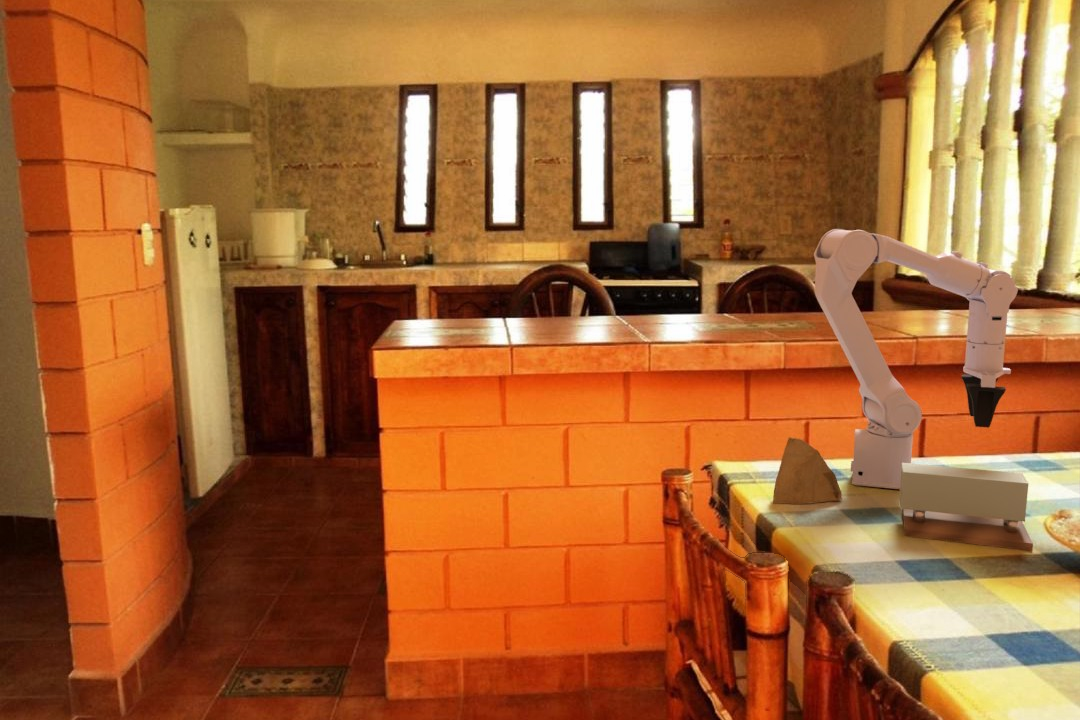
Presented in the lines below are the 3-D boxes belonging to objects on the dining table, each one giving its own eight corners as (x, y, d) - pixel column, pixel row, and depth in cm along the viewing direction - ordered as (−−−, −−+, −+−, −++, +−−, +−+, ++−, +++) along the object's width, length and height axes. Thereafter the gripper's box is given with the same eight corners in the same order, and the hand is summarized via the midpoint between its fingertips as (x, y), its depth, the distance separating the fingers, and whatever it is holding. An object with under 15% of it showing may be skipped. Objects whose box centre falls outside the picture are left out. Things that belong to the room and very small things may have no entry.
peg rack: (905, 535, 124) (906, 515, 123) (902, 511, 134) (903, 492, 133) (1032, 550, 118) (1034, 529, 118) (1019, 523, 128) (1021, 504, 128)
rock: (850, 480, 142) (790, 463, 147) (852, 448, 136) (789, 432, 141) (831, 534, 136) (768, 515, 141) (832, 503, 130) (767, 484, 135)
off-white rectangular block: (1019, 510, 125) (1022, 473, 124) (1024, 521, 121) (1028, 483, 120) (899, 497, 131) (901, 462, 130) (900, 508, 126) (903, 471, 125)
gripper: (1019, 349, 137) (1012, 433, 139) (1006, 336, 150) (999, 413, 152) (969, 347, 139) (963, 430, 141) (961, 335, 152) (955, 410, 155)
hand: (979, 421), depth 147 cm, fingers open, 7 cm apart
